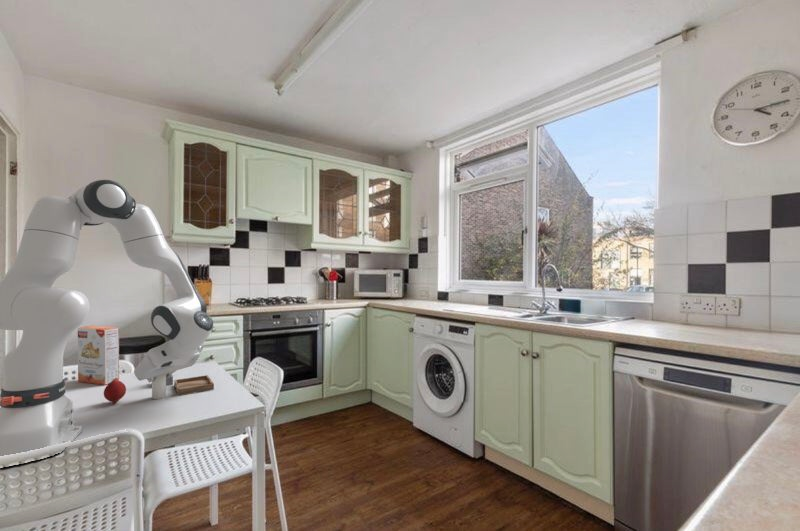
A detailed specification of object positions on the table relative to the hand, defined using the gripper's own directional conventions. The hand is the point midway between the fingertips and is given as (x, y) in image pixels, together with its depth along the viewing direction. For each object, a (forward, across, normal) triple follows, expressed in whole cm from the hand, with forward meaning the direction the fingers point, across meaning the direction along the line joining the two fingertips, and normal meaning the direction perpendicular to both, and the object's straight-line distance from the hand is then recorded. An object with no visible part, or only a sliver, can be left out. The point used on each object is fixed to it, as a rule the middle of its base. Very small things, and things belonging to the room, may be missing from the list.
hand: (157, 378), depth 130 cm
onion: (+10, +9, -1) cm, 13 cm away
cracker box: (+31, -4, -21) cm, 38 cm away
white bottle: (+4, 0, +5) cm, 6 cm away
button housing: (+13, -11, -4) cm, 17 cm away
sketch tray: (+3, -12, +6) cm, 14 cm away
